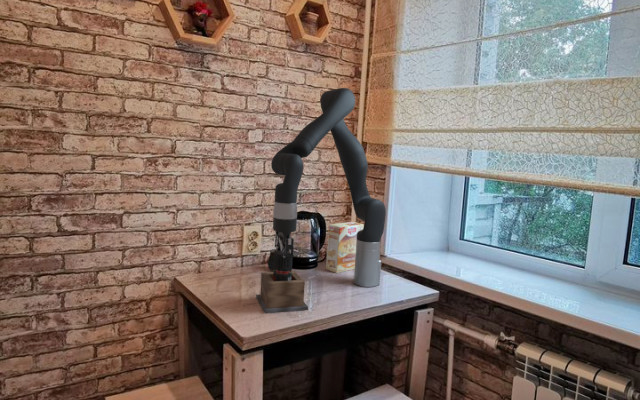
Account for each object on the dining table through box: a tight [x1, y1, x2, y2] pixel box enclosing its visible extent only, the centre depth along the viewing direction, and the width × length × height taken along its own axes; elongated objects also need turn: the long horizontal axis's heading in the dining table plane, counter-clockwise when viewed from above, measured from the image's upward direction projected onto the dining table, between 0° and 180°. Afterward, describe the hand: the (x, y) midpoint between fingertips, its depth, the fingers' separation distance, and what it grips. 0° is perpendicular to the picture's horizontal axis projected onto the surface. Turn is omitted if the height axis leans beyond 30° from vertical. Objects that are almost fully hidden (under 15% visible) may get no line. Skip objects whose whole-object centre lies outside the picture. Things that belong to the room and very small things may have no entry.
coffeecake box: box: [325, 221, 364, 274], centre depth 184 cm, size 15×7×20 cm, turn 132°
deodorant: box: [272, 251, 293, 281], centre depth 141 cm, size 6×6×15 cm
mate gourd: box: [267, 249, 278, 272], centre depth 178 cm, size 7×8×10 cm
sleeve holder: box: [255, 270, 309, 314], centre depth 141 cm, size 14×14×9 cm
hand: (283, 265), depth 140 cm, fingers open, 8 cm apart
